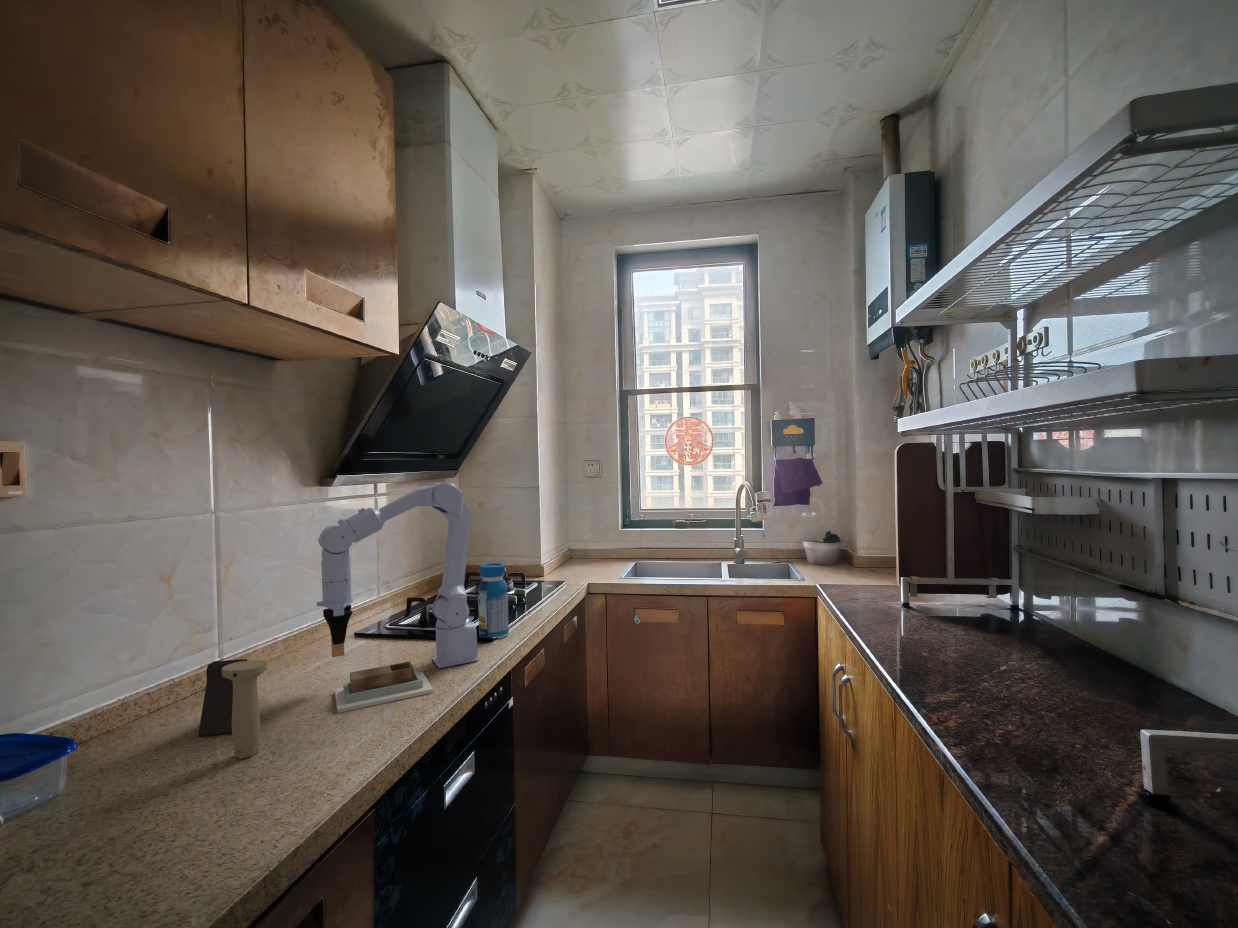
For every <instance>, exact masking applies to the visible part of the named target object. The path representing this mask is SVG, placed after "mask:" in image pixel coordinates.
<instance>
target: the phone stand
mask: <svg viewBox="0 0 1238 928" xmlns="http://www.w3.org/2000/svg"><path fill="white" fill-rule="evenodd" d="M241 661H249V659H248V658H242V659H240V658H239V659H229V660H218V661H217V660H215V661H211V662H210V663H208V664H207V666H206V671H205V673H206V683H205V688H204V689H205V690H204V691H205V692H204V696H203V703H202V708H201V709H202V710H201V713H200V714H201V715H200V721H199V727H198V733H197V736H198V737H199V738H200V737H210V736H221V735H230V734H231V735H232V705H233V682H232V681H231V680H230V679H228V678H225V677H223V676H222V668H223V667H224V666H226V665H229V664H232V663H235V662H241Z"/></svg>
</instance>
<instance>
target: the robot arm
mask: <svg viewBox="0 0 1238 928" xmlns="http://www.w3.org/2000/svg"><path fill="white" fill-rule="evenodd" d="M416 507H431V508H433V509H435V510H437V511H439V513H440V514H442V515H443V516H444V517H445V518H446V519H447V521H448V523H447V524H448V526H447V536H446V543H445V544H446V545H445V552H444V553H445V554H444V565H443V571H442V572H443V574H442V580H441V581H442V583H441V585H440V587H439V588H438V589H437V590H438V591H437V596H436V599H435V600H434V602H433V605H432V614H433V615H434V617H435V618H436V623H435V649H436V656H433V657H432V658H431V660H433V663H435V665H436V666H437V668H438V669H442V668H448V667H453V666H457V665H462V664H468V663H472V662H478V661H479V658H478V637H477V636H478V635H477V628H476V624H475V623H474V621H467V620H468V619H469V616H470V609H469V605H468V601H467V599H468V594H467V592H466V589H465V578H466V577H465V576H466V566H467V559H468V558H467V557H468V551H469V550H468V549H469V539H470V532H471V531H470V529H471V521H472V520H471V519H472V514H471V511H470V509H469V506H468V504H467V502H466V500H465V497H464V492H463V491H462V490H461V489H460V488H459V487H458V486H457V485H456V484H455V483H453V482H450V481H446V482H445V481H444V482H440V481H434V482H431V483H429V484H427V485H423V486H420V487H417V488H415V489H413V490H412V491H409V492H408V493H406V494H404V495H402V496H400V497H399V498H396V499H395V500H393V501H391V502H389V503H387V504H385V505H384V506H382V507H380V508H379V509H378V508H373V507H368V508H365V507H362V508H360V509H358V510H357V511H358V513H355V514H353V515H352V516H349V517H348V518H345V519H342V518H341V519H339V520H337V523H338V525H336V524H335V525H330V526H327V527H325V528H324V529H322V531H321V532H320V534H319V538H318V539H317V540H318V544H319V546H320V547H321V548H322V549H321V561H320V562H321V563H320V564H321V565H320V566H321V589H322V590H321V593H322V594H321V595H322V597H321V598H322V601H321V600H320V601H316V607H323V608H324V609H323V610H322V612H323V613H322V615H323V618H324V620H325V621H326V623H327V625H328V628H329V631H330V632H329V633H330V638H331V637H332V641H333V644H334V645H336V644H342V643H344V644H345V641H346V637H347V630H348V624H349V622H350V619H351V617H352V615H353V610H352V605H351V604H352V603H353V602H354V601H353V597H352V575H351V574H352V571H351V557H350V548H351V546H352V545H353V543H355V544H356V543H358V542H360V541H362V540H364V539H366V538H369V537H370V536H372V535H374V534H375V533H377V532H379V531H381V530H383V527H384V525H385V523H386V522H387V521H389V520H391V519H393V518H395V517H397V516H399V515H402V514H404V513H407V512H408V511H410V510H412V509H414V508H416Z"/></svg>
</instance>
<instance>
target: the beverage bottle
mask: <svg viewBox="0 0 1238 928" xmlns="http://www.w3.org/2000/svg"><path fill="white" fill-rule="evenodd" d="M479 576H480V578H481V581H480V582H479V585H478V588H477V593H478V597H477V603H478V604H477V605H478V607H477V608H478V626H479V627H478V629H479V631H478V634H479V635H480V636H487V637H497V638H498V639H502V638H505V637H507V636H508V635H509V633H510V631H509V629H510V628H509V595H508V593H507V591H508V584H507V583H506V581H505V579H504V578H503V577H505V564H503V563H499V562H495V563H494V562H493V563H492V562H491V563H485V564H481V565H480V566H479ZM480 636H479V637H480ZM498 639H497V640H498Z"/></svg>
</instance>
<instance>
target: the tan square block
mask: <svg viewBox="0 0 1238 928" xmlns="http://www.w3.org/2000/svg"><path fill="white" fill-rule="evenodd" d="M330 641H331V644H330V645H331V658H337V657H344V656H345V642H344V643H342V644H336V645H334V644H333V641H332V637H331V636H330Z"/></svg>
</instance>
